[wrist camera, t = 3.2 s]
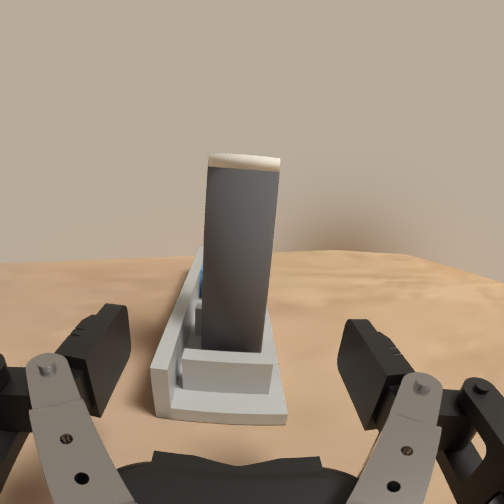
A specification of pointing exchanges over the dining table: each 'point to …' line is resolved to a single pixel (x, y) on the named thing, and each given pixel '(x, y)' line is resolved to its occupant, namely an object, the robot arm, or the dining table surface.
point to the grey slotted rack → (213, 370)
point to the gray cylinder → (237, 250)
